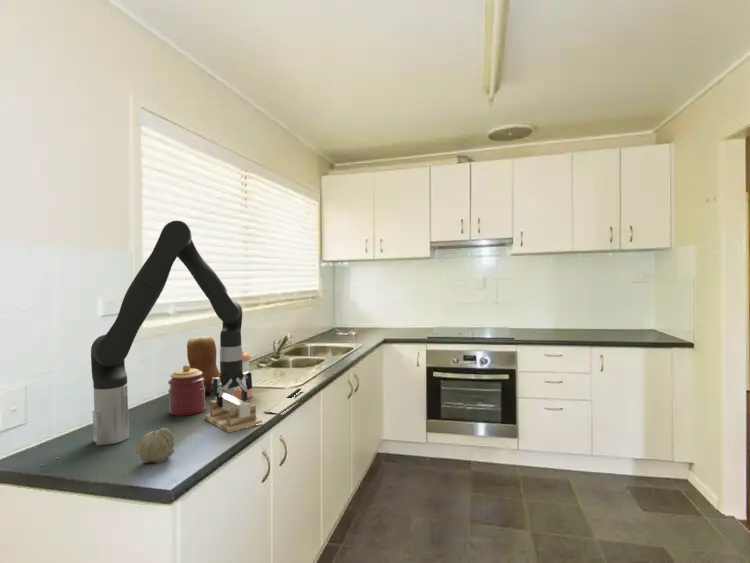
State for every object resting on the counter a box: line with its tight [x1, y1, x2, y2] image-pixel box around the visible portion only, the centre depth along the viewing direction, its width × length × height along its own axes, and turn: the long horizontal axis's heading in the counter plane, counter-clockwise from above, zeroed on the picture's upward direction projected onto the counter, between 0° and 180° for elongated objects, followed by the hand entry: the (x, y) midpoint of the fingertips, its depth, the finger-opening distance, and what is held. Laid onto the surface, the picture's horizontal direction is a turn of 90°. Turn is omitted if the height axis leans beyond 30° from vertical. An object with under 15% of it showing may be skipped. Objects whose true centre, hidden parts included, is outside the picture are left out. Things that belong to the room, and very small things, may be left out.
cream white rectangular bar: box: [214, 392, 251, 418], centre depth 156 cm, size 20×4×4 cm, turn 43°
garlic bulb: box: [134, 427, 175, 464], centre depth 125 cm, size 9×8×10 cm
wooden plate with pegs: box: [204, 395, 263, 434], centre depth 156 cm, size 20×12×6 cm, turn 42°
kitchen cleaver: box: [263, 388, 302, 416], centre depth 179 cm, size 31×2×10 cm
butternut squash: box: [186, 335, 221, 395], centre depth 193 cm, size 14×13×25 cm
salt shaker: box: [233, 350, 253, 400], centre depth 188 cm, size 7×7×19 cm
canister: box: [167, 364, 207, 417], centre depth 169 cm, size 13×13×18 cm
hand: (232, 404), depth 156 cm, fingers open, 8 cm apart
